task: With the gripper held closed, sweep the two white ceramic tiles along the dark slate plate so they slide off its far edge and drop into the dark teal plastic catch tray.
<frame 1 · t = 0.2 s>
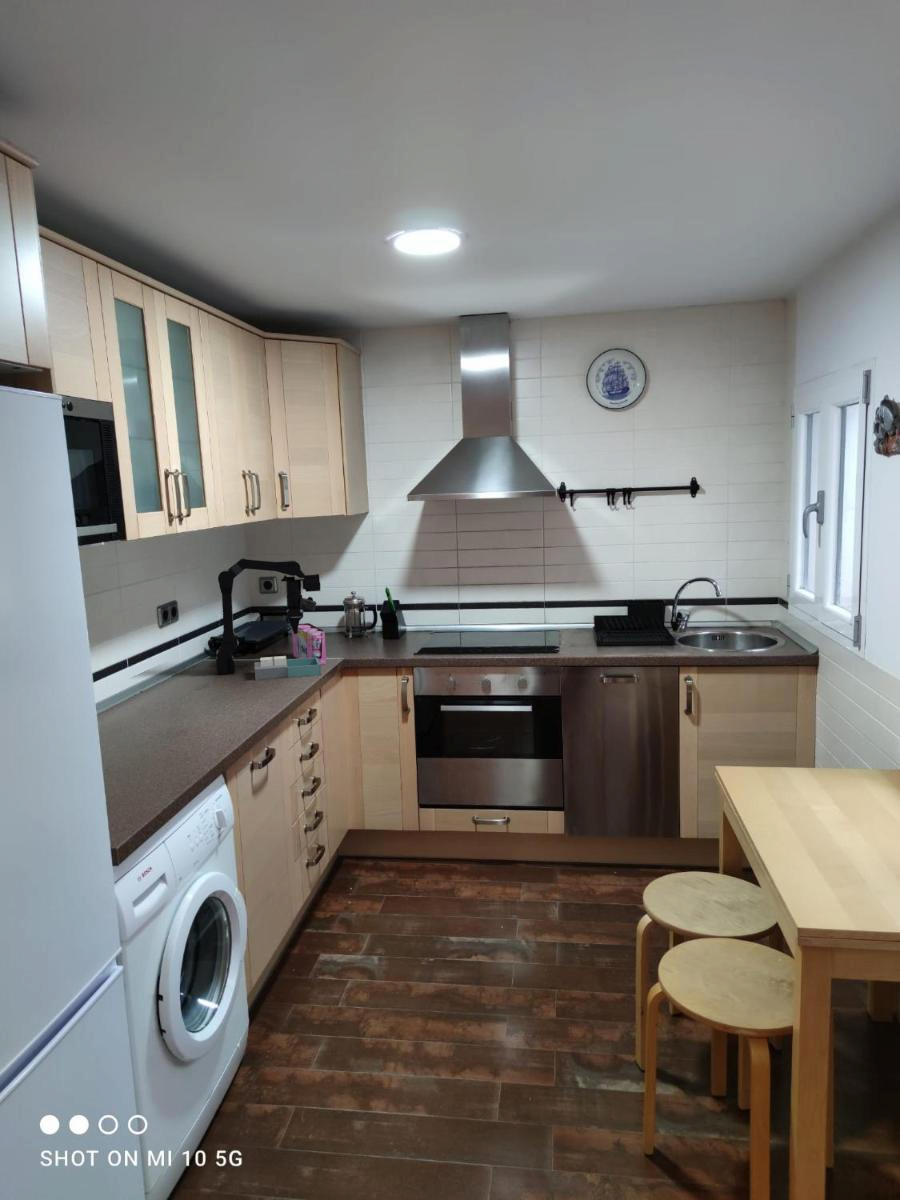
hand: (295, 631, 307), 14 cm above the table, fingers open, 9 cm apart
catch tray: (302, 672, 300), on the table
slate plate: (271, 675, 297), on the table
tile near: (266, 665, 296), point 4 cm above the table, touching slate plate
tile far: (280, 663, 297), point 4 cm above the table, touching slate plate
gum box: (309, 660, 322), on the table
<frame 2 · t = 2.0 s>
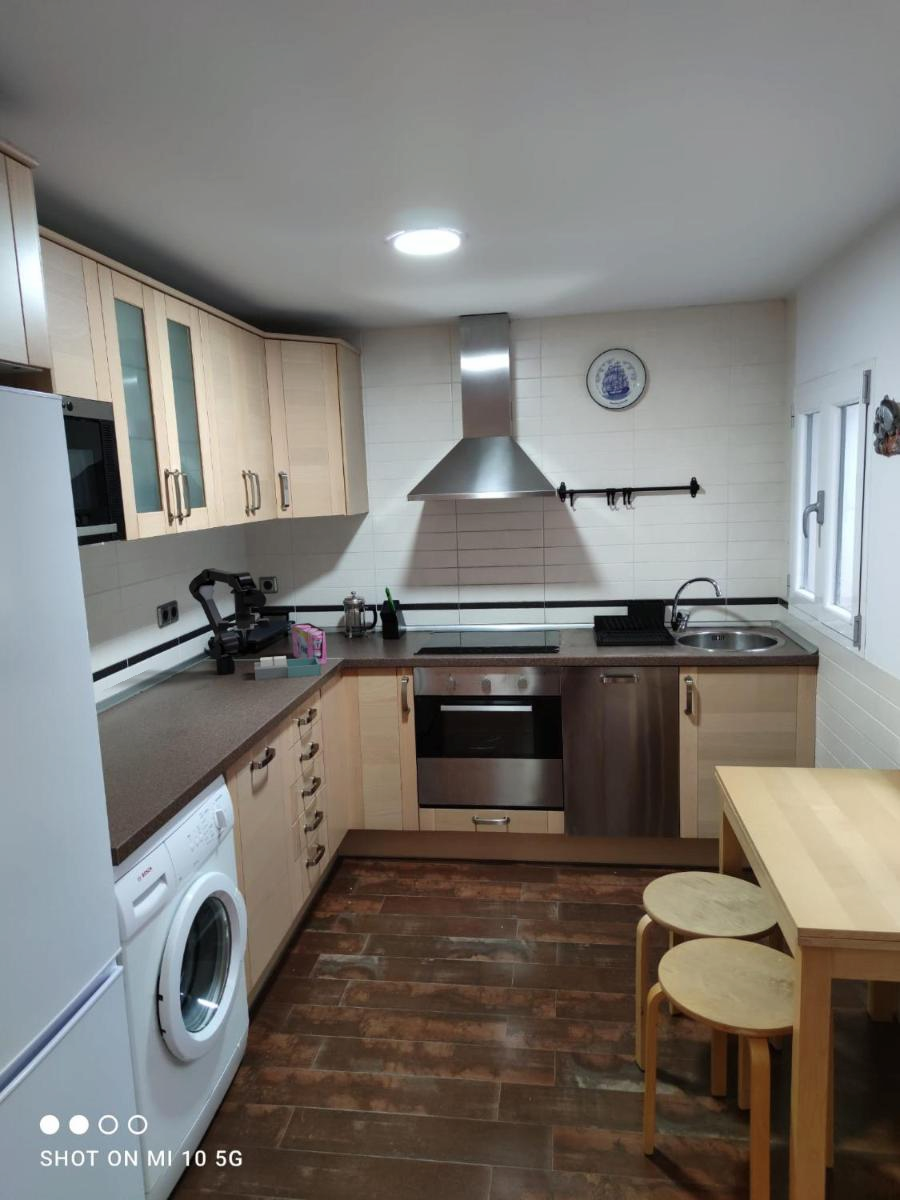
hand: (245, 647, 293), 11 cm above the table, fingers closed
nothing on the table moved.
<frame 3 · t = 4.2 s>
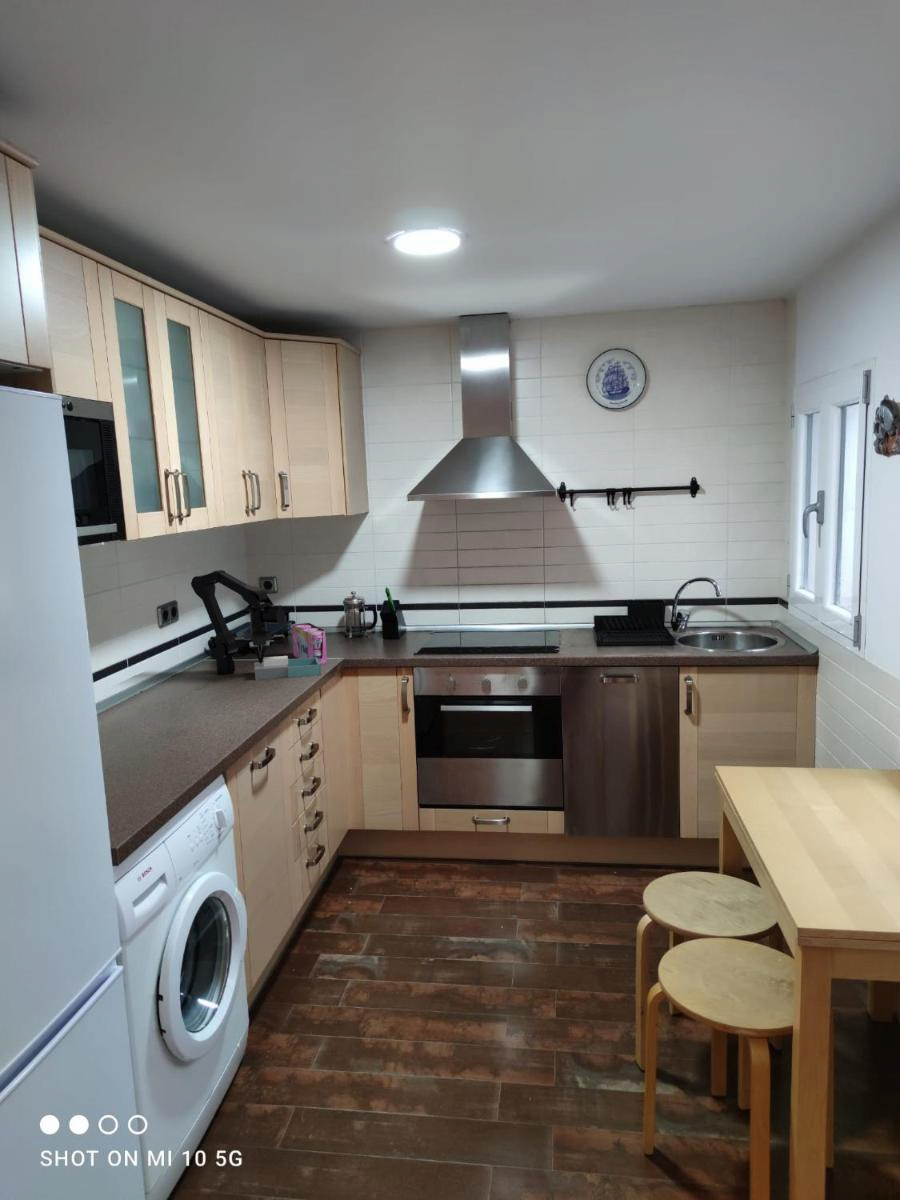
hand: (260, 663, 295), 5 cm above the table, fingers closed
tile near: (269, 664, 296), point 4 cm above the table, touching gripper, tile far
tile far: (282, 663, 297), point 4 cm above the table, touching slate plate, tile near
everything else where it was.
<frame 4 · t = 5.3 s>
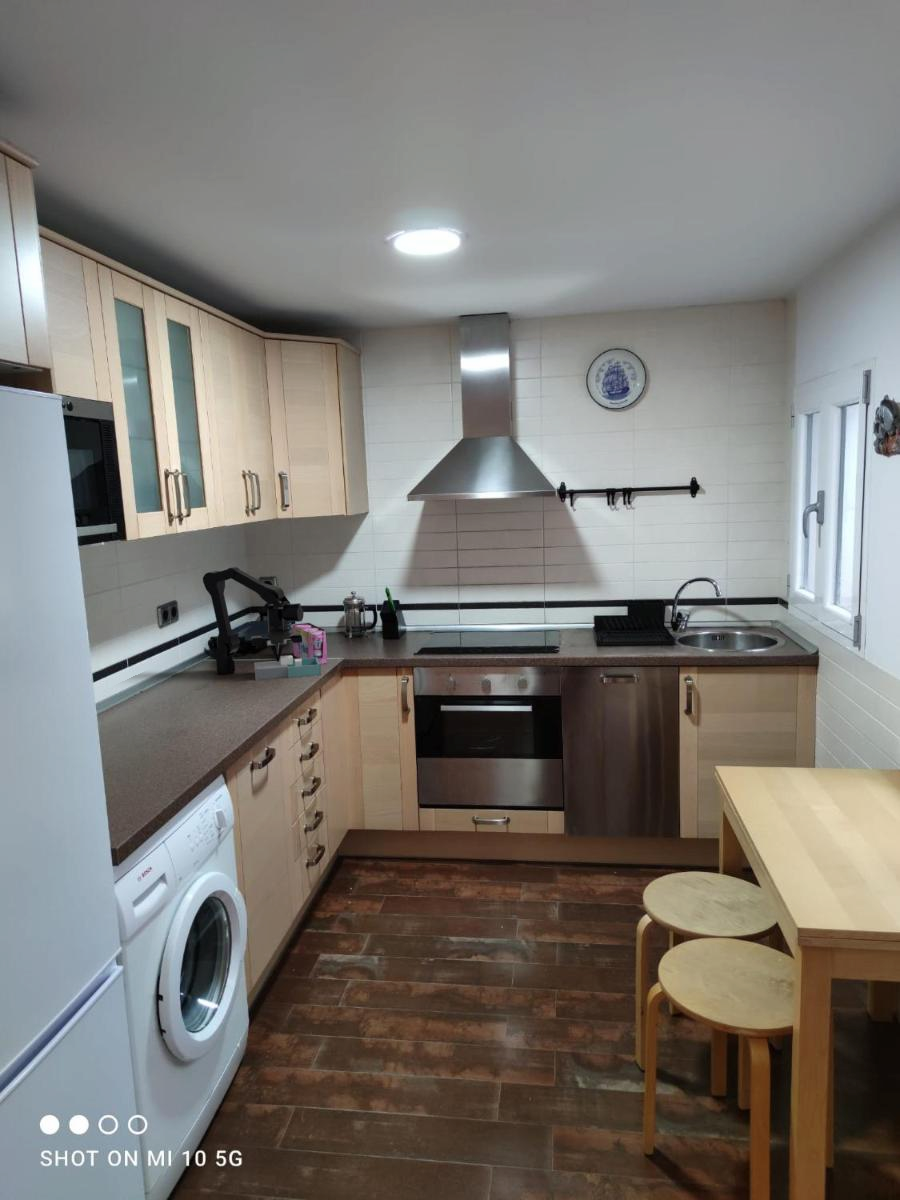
hand: (277, 661, 297), 5 cm above the table, fingers closed
tile near: (286, 663, 298), point 4 cm above the table, touching gripper, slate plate
tile far: (295, 666, 299), point 3 cm above the table, tilted 90°, touching catch tray
everything else where it was.
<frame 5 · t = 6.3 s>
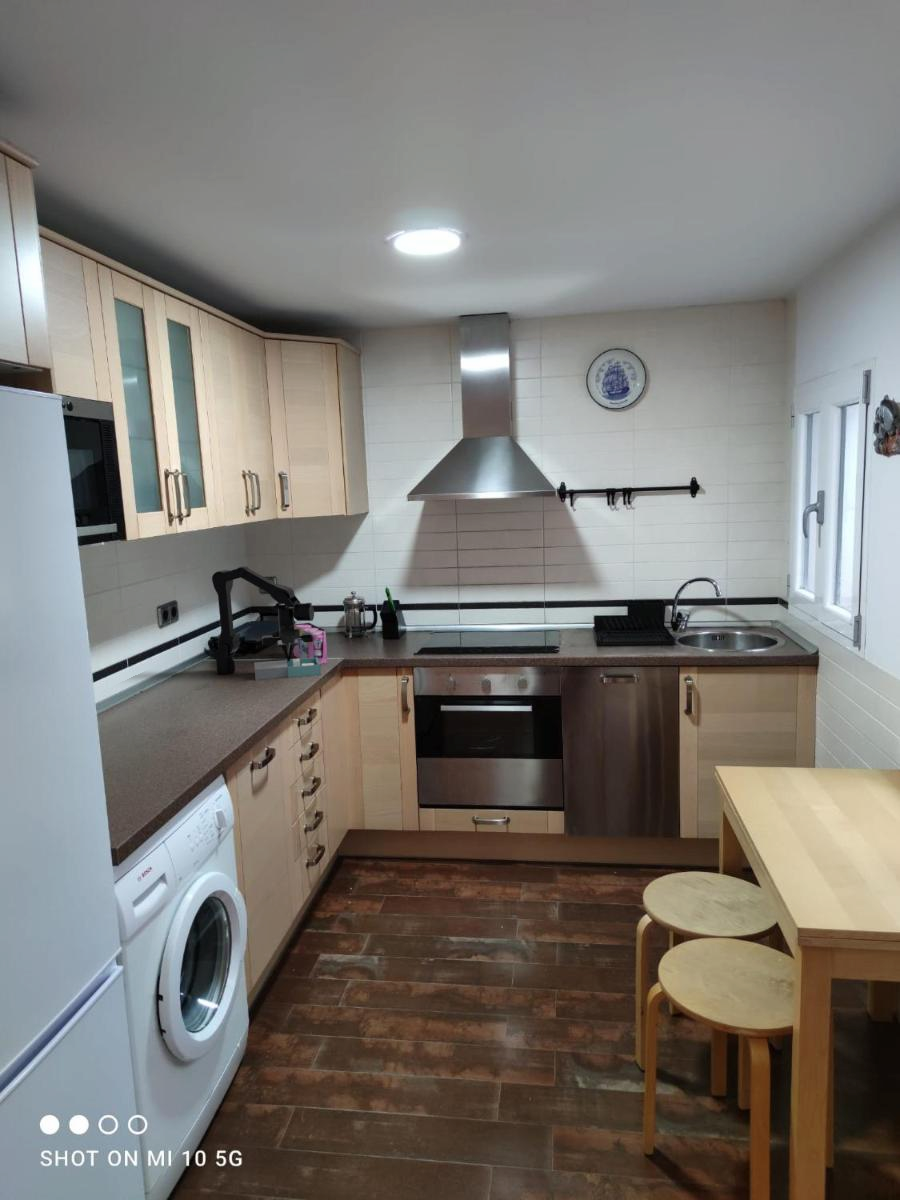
hand: (288, 661, 298), 5 cm above the table, fingers closed
tile near: (293, 666, 299), point 3 cm above the table, tilted 87°, touching catch tray
tile far: (307, 664, 300), point 3 cm above the table, tilted 180°, touching catch tray
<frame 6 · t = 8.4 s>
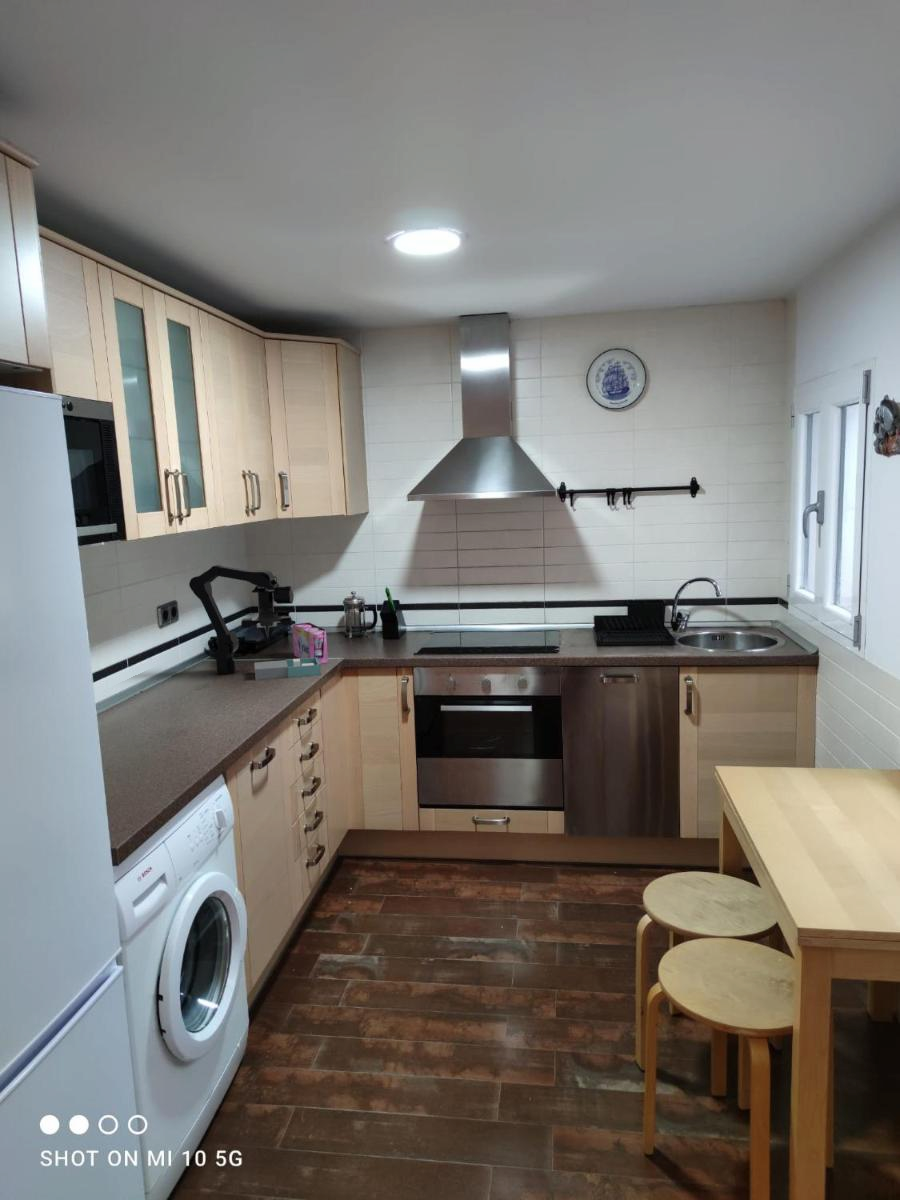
hand: (267, 644, 300), 11 cm above the table, fingers closed
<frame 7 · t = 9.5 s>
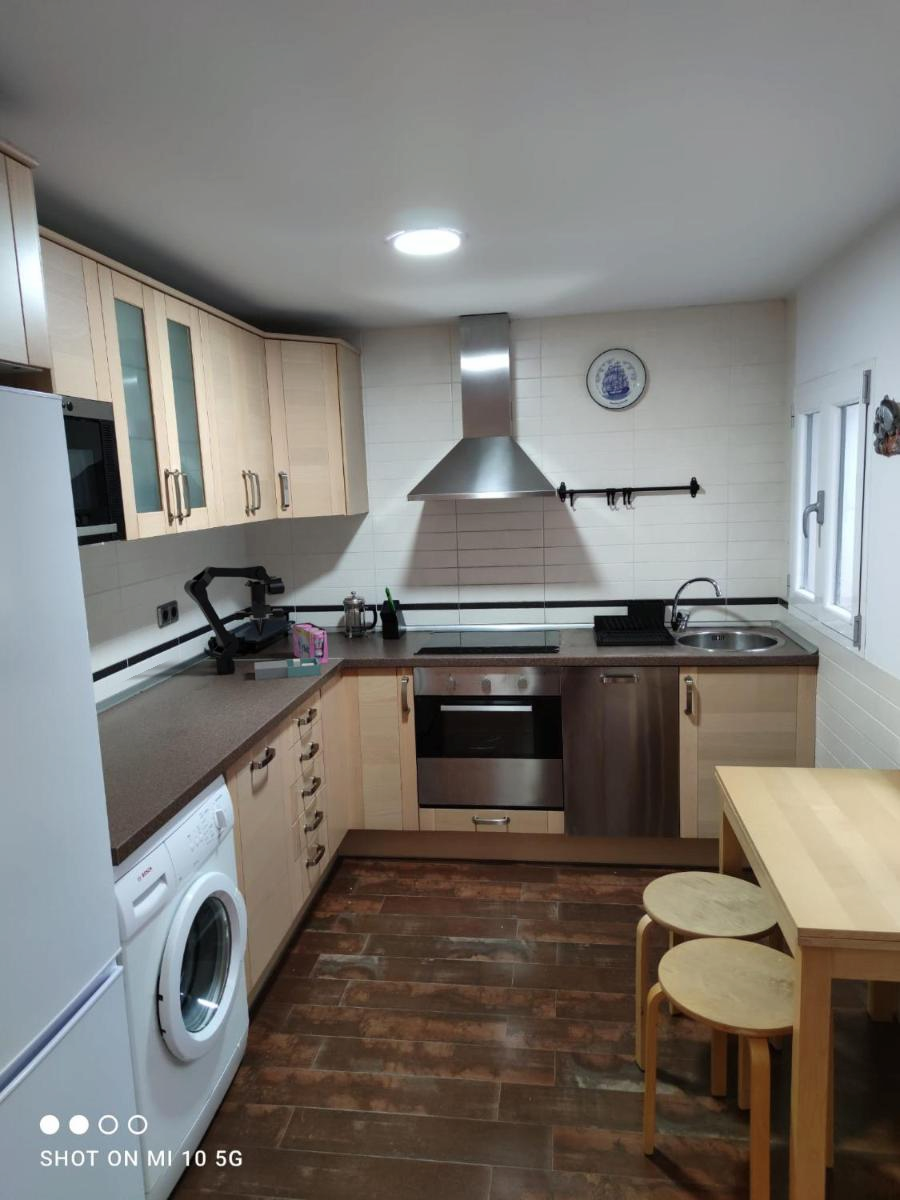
hand: (260, 635, 310), 12 cm above the table, fingers closed
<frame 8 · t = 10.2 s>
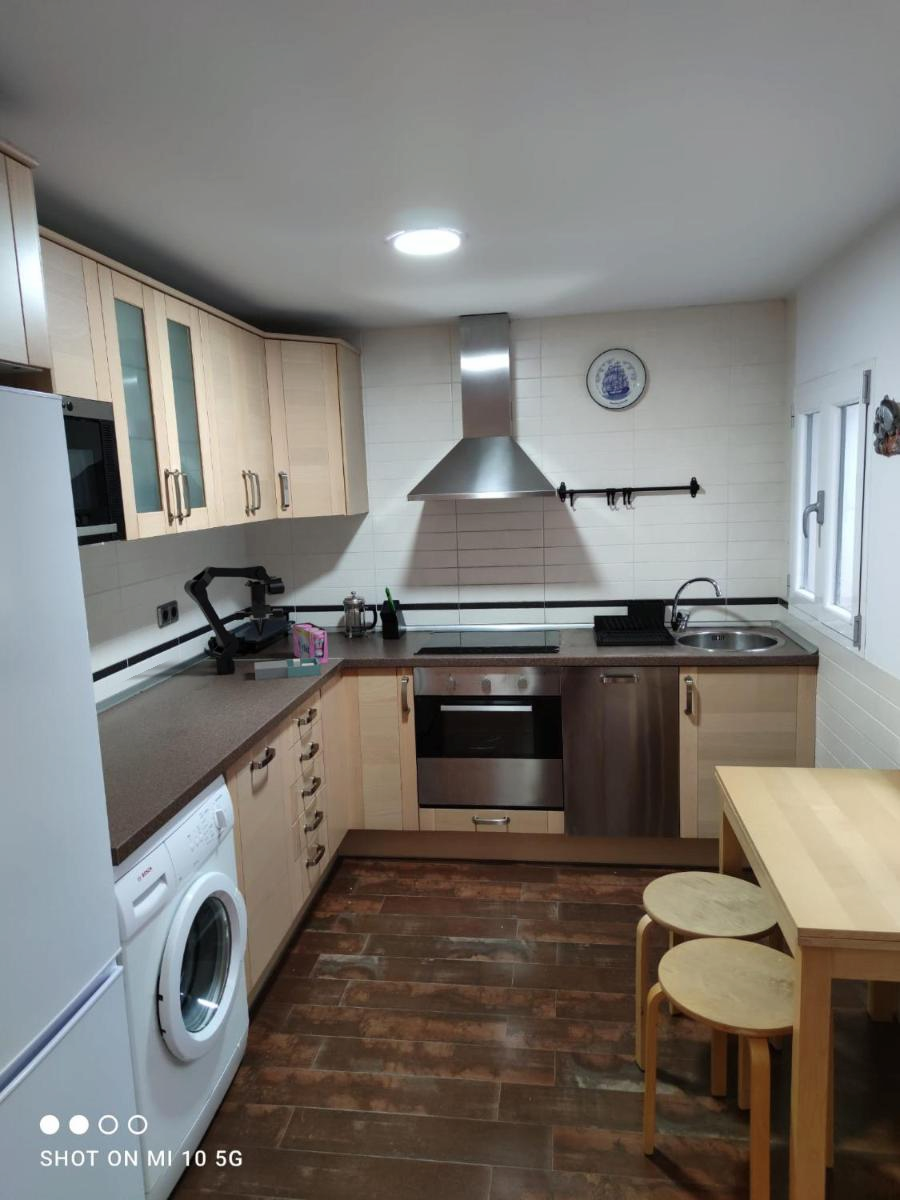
hand: (260, 635, 310), 12 cm above the table, fingers closed
at the end: tile near inside the target area (3.6 cm from its centre), point 2.7 cm above the table; tile far inside the target area (1.8 cm from its centre), point 3.0 cm above the table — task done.
